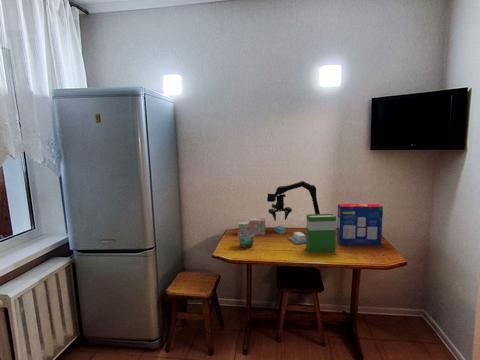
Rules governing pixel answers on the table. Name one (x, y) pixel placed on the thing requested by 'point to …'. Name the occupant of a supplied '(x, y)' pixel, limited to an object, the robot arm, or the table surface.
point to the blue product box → (359, 224)
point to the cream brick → (299, 236)
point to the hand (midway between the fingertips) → (280, 220)
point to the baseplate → (297, 241)
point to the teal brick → (280, 229)
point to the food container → (245, 240)
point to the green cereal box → (321, 232)
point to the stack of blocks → (253, 226)
